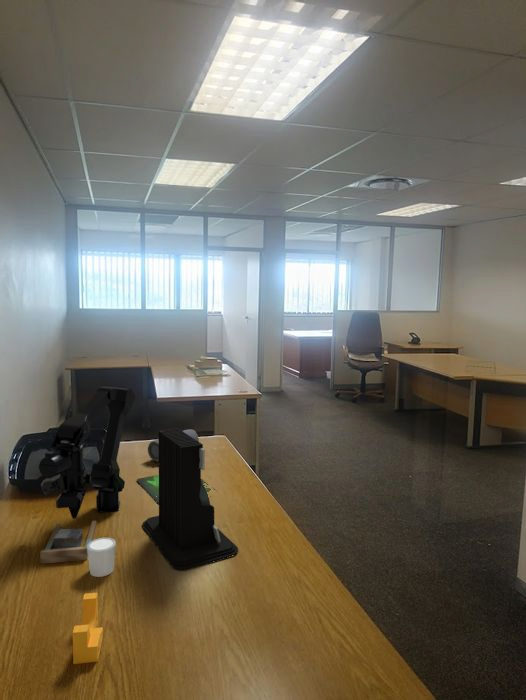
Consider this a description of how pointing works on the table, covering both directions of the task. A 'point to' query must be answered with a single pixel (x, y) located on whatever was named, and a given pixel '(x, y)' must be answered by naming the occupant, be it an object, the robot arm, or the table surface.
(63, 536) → the block
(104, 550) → the white cylinder
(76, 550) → the brown u-shaped frame
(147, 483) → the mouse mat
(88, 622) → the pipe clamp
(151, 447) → the bluetooth speaker
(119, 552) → the table surface
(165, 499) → the award
